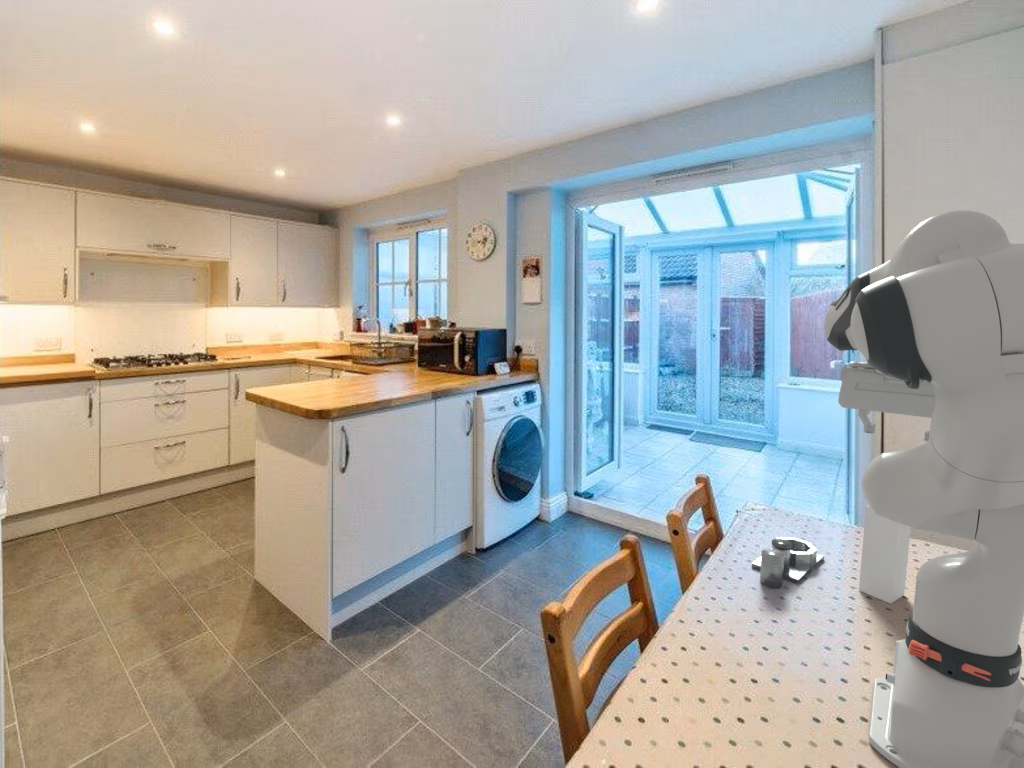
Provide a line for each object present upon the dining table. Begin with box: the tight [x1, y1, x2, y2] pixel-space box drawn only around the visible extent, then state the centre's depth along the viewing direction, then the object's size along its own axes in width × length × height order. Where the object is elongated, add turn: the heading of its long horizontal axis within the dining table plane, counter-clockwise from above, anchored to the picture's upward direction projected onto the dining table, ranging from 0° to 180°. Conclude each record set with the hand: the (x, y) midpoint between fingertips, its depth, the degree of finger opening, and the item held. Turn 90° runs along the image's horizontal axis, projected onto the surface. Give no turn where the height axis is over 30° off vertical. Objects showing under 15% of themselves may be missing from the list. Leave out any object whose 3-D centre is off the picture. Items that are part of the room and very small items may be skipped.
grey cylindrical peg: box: [759, 548, 784, 590], centre depth 109 cm, size 4×4×7 cm
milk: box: [858, 504, 912, 605], centre depth 103 cm, size 6×6×22 cm
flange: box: [751, 536, 825, 585], centre depth 117 cm, size 16×10×7 cm, turn 130°
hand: (898, 437), depth 95 cm, fingers open, 8 cm apart
